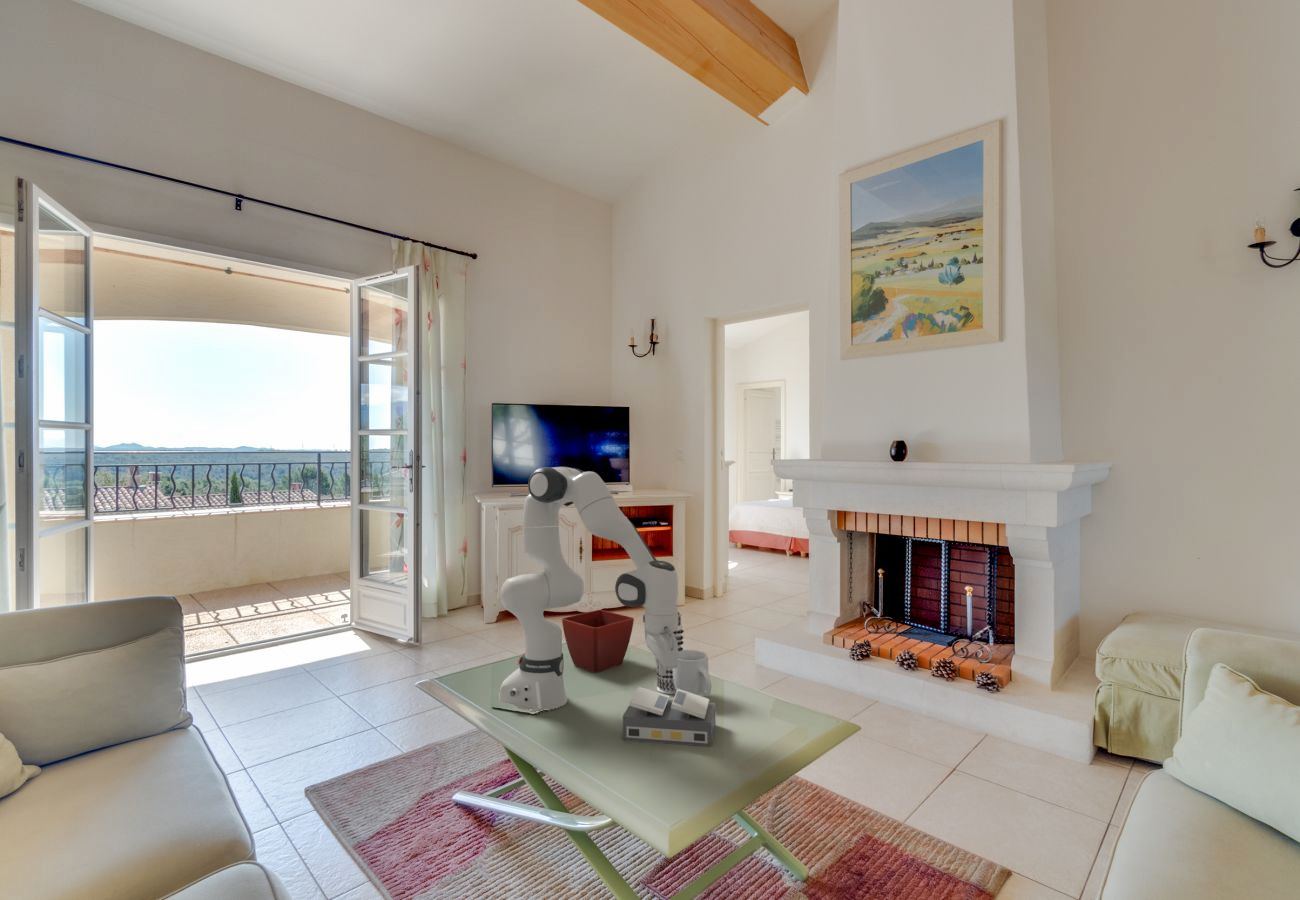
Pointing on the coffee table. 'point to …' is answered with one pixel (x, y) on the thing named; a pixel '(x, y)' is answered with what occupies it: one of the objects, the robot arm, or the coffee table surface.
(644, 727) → the switch console
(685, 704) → the rocker right
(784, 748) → the coffee table surface
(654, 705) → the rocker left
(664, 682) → the black and white cylinder
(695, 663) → the mug
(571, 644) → the plant pot
